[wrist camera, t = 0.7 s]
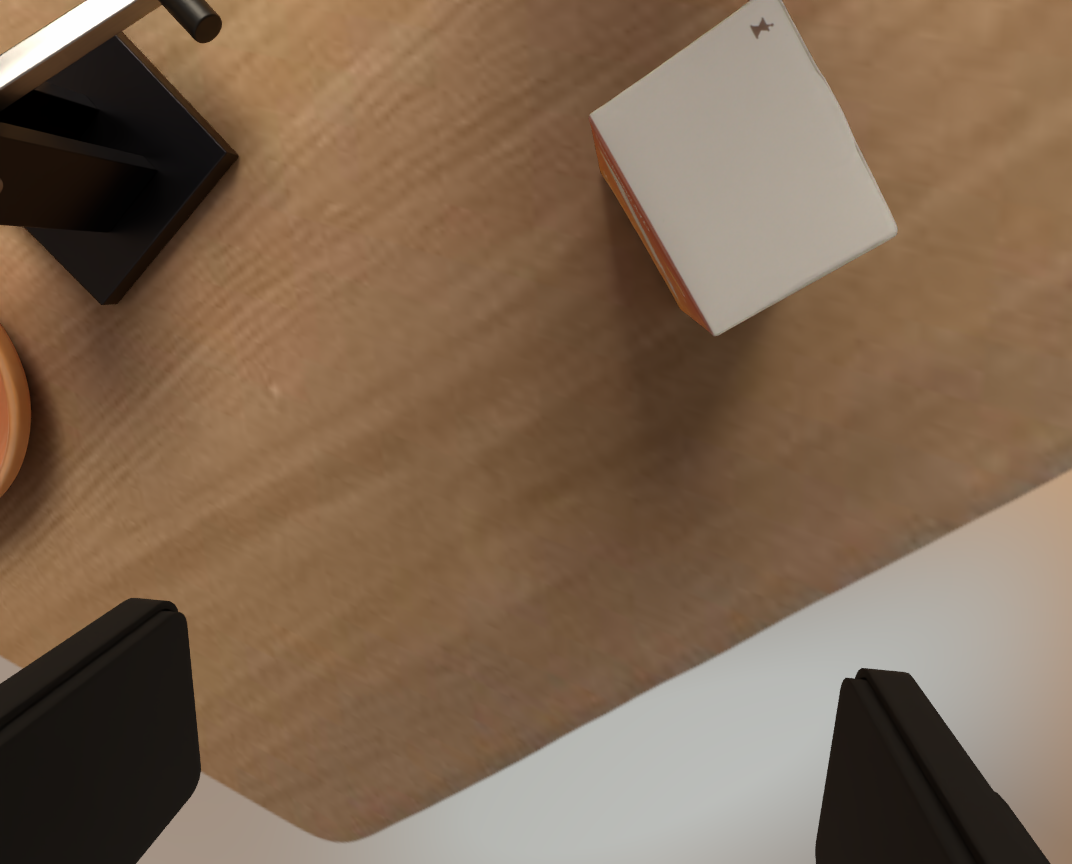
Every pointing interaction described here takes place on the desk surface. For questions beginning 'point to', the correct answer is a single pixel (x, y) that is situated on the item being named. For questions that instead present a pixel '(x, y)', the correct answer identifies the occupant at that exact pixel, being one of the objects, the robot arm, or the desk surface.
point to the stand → (106, 166)
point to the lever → (89, 38)
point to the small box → (740, 169)
